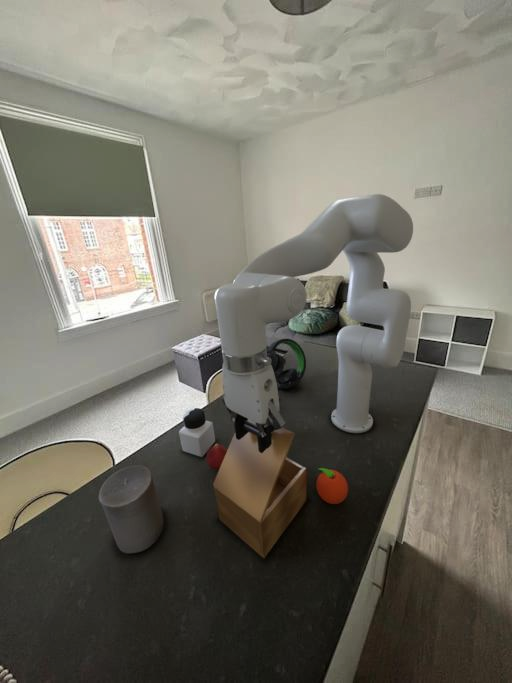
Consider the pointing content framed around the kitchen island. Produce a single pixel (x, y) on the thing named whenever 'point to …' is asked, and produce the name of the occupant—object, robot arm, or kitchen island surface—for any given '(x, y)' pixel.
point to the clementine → (331, 486)
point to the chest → (267, 510)
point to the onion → (216, 456)
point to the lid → (253, 469)
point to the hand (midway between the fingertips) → (253, 440)
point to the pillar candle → (132, 508)
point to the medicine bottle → (196, 432)
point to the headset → (287, 376)
